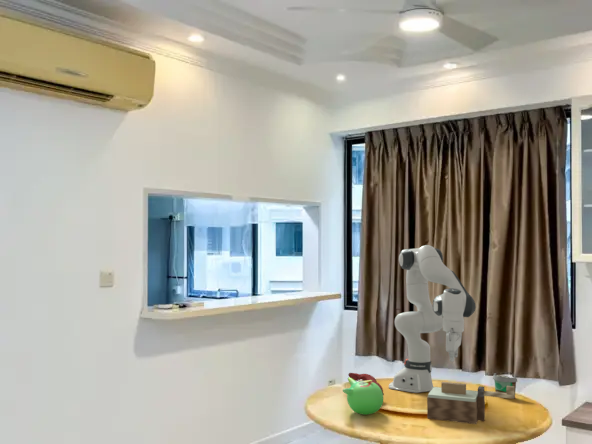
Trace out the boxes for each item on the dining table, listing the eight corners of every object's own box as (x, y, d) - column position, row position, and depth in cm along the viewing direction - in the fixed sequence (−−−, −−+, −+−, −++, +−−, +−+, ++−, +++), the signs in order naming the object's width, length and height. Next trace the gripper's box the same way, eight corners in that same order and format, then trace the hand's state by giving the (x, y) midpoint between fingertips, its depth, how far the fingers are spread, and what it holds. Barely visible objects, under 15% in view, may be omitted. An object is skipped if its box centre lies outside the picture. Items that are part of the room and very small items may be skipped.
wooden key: (481, 395, 252) (481, 384, 252) (481, 394, 254) (481, 383, 254) (514, 398, 247) (514, 387, 247) (514, 397, 249) (514, 386, 249)
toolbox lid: (428, 399, 255) (427, 384, 255) (433, 391, 268) (433, 377, 268) (475, 404, 247) (475, 389, 247) (479, 396, 260) (478, 381, 260)
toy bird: (382, 420, 252) (382, 385, 252) (342, 418, 255) (342, 383, 255) (384, 408, 269) (384, 375, 270) (347, 406, 273) (346, 374, 273)
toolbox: (427, 418, 255) (427, 386, 255) (433, 409, 267) (433, 379, 268) (482, 425, 246) (482, 392, 246) (485, 415, 259) (485, 384, 259)
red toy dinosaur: (357, 396, 306) (339, 376, 301) (368, 382, 309) (351, 363, 304) (388, 411, 280) (369, 390, 276) (400, 396, 283) (382, 374, 279)
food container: (487, 395, 292) (487, 374, 293) (495, 393, 296) (495, 372, 296) (510, 400, 283) (509, 379, 283) (517, 398, 286) (517, 377, 286)
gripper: (457, 330, 247) (457, 364, 247) (464, 324, 266) (464, 355, 266) (442, 329, 250) (442, 363, 249) (449, 323, 269) (449, 354, 268)
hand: (453, 359), depth 258 cm, fingers open, 8 cm apart
